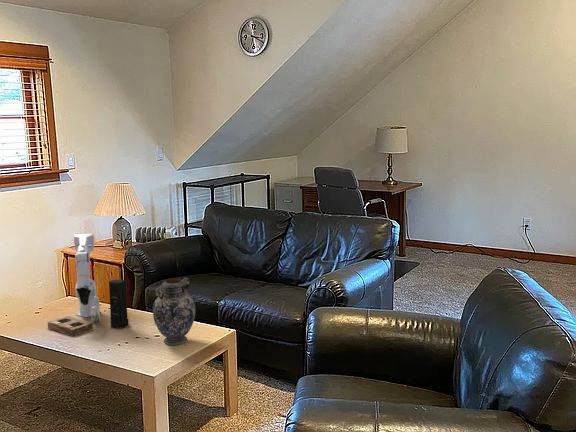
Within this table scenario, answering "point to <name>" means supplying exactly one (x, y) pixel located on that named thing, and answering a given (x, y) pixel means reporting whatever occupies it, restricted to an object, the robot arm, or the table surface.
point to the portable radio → (118, 303)
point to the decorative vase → (174, 310)
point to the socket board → (70, 325)
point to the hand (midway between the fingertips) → (84, 304)
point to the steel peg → (95, 314)
